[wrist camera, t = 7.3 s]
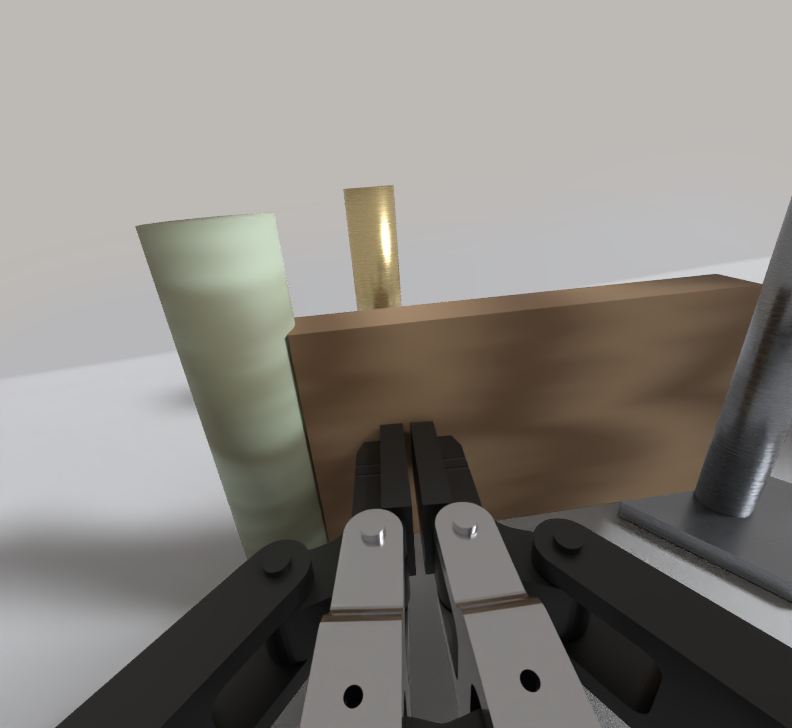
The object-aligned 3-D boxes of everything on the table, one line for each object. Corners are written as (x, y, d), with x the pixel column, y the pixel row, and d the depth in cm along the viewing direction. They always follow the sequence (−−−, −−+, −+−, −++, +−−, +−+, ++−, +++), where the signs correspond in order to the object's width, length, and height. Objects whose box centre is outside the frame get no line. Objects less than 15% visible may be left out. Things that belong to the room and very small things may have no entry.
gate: (645, 469, 17) (720, 175, 12) (705, 525, 14) (835, 170, 9) (261, 526, 16) (169, 220, 11) (242, 600, 13) (105, 230, 8)
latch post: (390, 384, 30) (373, 187, 24) (428, 401, 27) (419, 183, 21) (349, 405, 27) (318, 191, 22) (385, 426, 25) (362, 187, 19)
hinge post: (660, 451, 21) (757, 95, 14) (821, 511, 16) (1068, 43, 10) (617, 515, 17) (719, 75, 10) (808, 610, 13) (1186, -19, 6)
